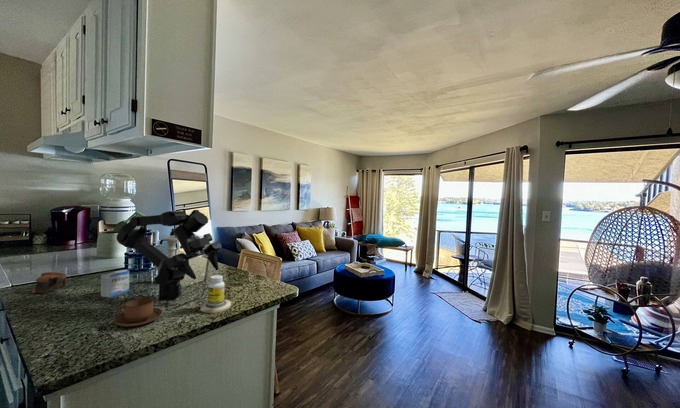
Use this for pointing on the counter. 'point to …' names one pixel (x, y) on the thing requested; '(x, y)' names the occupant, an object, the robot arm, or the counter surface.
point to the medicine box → (114, 283)
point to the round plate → (215, 307)
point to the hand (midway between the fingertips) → (207, 274)
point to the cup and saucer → (138, 312)
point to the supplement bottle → (216, 291)
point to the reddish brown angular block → (49, 282)
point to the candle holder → (171, 245)
